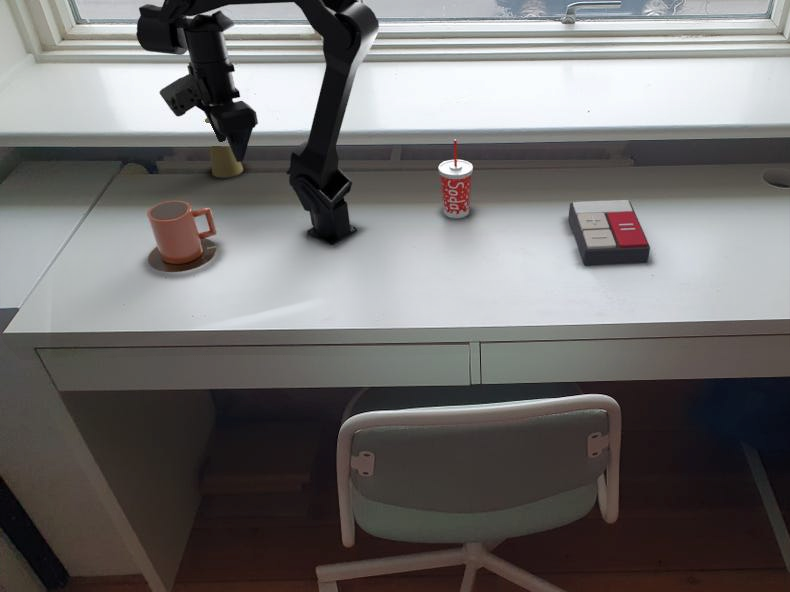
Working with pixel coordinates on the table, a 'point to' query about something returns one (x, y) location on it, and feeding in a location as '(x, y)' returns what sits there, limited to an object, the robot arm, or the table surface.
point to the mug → (178, 230)
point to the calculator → (608, 232)
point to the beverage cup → (456, 185)
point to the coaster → (161, 265)
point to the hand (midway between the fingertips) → (230, 151)
